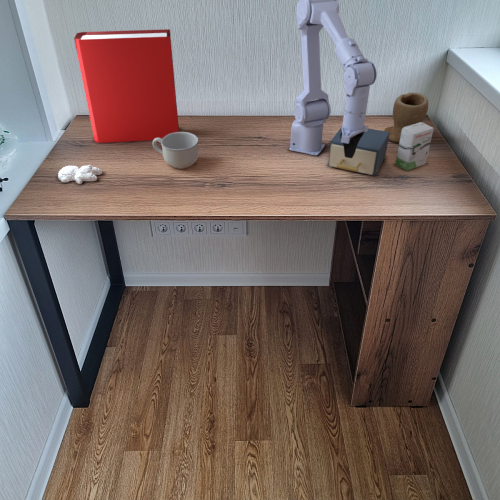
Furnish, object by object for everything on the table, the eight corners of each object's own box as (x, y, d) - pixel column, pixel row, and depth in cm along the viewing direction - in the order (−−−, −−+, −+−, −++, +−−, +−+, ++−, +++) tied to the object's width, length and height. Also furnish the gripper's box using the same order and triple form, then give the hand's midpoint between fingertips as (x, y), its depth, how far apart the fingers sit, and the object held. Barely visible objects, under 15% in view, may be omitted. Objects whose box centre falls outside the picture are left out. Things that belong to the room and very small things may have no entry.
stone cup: (389, 148, 161) (398, 102, 152) (380, 132, 171) (387, 88, 162) (436, 147, 162) (447, 101, 153) (424, 131, 171) (434, 87, 162)
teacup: (206, 160, 155) (204, 135, 150) (188, 175, 147) (185, 150, 142) (167, 151, 159) (164, 127, 155) (147, 166, 152) (144, 141, 147)
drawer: (368, 182, 143) (371, 161, 139) (323, 172, 147) (325, 152, 143) (382, 156, 155) (385, 136, 151) (341, 148, 159) (343, 129, 155)
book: (178, 128, 173) (169, 29, 154) (179, 138, 167) (169, 36, 147) (97, 132, 170) (77, 32, 151) (94, 143, 164) (73, 39, 145)
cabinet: (374, 176, 147) (379, 150, 142) (327, 166, 152) (330, 140, 147) (385, 156, 157) (389, 132, 152) (340, 148, 161) (343, 123, 156)
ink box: (406, 171, 149) (414, 134, 142) (393, 164, 153) (401, 127, 145) (426, 163, 153) (435, 127, 146) (413, 157, 156) (421, 121, 149)
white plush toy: (92, 186, 142) (90, 176, 141) (53, 181, 144) (50, 172, 142) (105, 171, 149) (103, 161, 147) (67, 167, 151) (65, 158, 149)
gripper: (363, 122, 127) (356, 171, 135) (376, 102, 137) (369, 148, 145) (335, 118, 129) (330, 165, 137) (351, 98, 139) (345, 144, 148)
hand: (349, 156), depth 142 cm, fingers closed
